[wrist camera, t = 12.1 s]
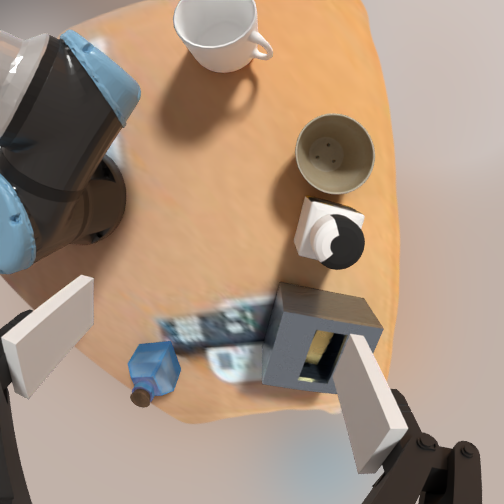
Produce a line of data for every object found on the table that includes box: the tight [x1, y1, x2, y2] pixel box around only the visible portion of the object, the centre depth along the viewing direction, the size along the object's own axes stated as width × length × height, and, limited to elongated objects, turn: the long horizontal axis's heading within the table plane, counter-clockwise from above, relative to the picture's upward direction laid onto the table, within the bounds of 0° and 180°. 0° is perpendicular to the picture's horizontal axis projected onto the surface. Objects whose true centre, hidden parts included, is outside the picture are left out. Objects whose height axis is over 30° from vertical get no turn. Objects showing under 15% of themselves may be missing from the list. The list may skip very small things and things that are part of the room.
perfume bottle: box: [128, 341, 181, 407], centre depth 49 cm, size 6×6×12 cm
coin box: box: [262, 282, 383, 394], centre depth 46 cm, size 14×12×10 cm
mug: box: [173, 0, 273, 73], centre depth 34 cm, size 9×12×12 cm
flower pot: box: [295, 114, 375, 194], centre depth 40 cm, size 10×10×7 cm
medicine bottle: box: [294, 196, 365, 270], centre depth 41 cm, size 7×7×12 cm
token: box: [305, 330, 334, 365], centre depth 48 cm, size 2×6×6 cm, turn 160°
